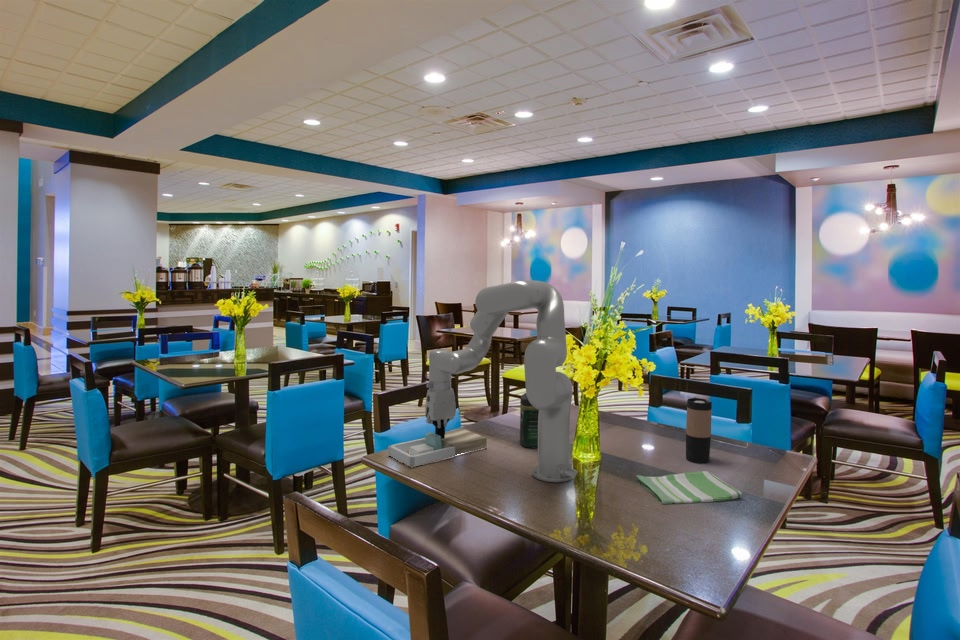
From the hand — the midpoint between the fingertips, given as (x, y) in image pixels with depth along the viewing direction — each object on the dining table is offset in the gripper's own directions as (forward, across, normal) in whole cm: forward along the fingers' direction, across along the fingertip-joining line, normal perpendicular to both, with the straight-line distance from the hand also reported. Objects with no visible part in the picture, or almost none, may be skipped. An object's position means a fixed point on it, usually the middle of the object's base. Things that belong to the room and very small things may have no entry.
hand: (440, 437), depth 180 cm
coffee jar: (+5, +31, -13) cm, 34 cm away
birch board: (+5, +8, 0) cm, 9 cm away
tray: (+5, -8, 0) cm, 9 cm away
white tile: (+2, -7, 0) cm, 8 cm away
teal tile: (+1, -2, 0) cm, 2 cm away
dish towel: (+6, +37, -70) cm, 80 cm away
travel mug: (+5, +63, -59) cm, 86 cm away
